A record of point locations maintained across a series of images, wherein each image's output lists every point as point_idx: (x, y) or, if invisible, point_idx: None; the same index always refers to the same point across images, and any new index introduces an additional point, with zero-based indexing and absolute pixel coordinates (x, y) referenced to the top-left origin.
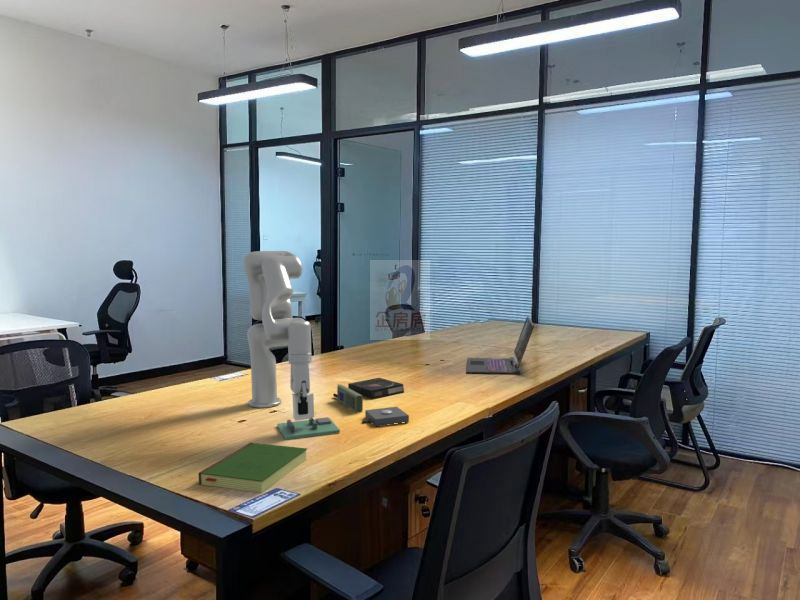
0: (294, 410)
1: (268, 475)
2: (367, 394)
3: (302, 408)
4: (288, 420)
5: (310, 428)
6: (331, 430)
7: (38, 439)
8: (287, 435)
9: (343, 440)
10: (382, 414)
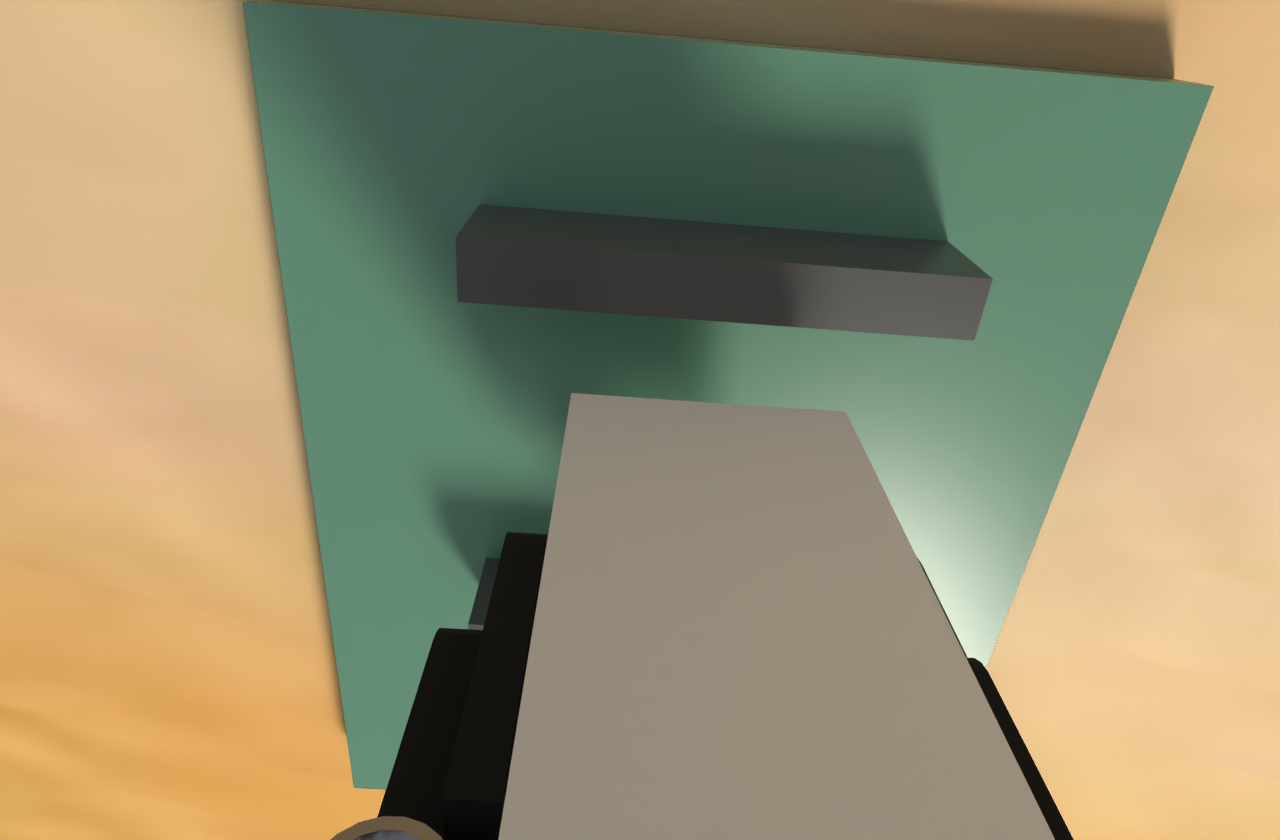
0: (670, 523)
1: None
2: None
3: (416, 727)
4: (925, 295)
5: None
6: (364, 716)
7: None
8: (314, 81)
9: (66, 715)
10: None
